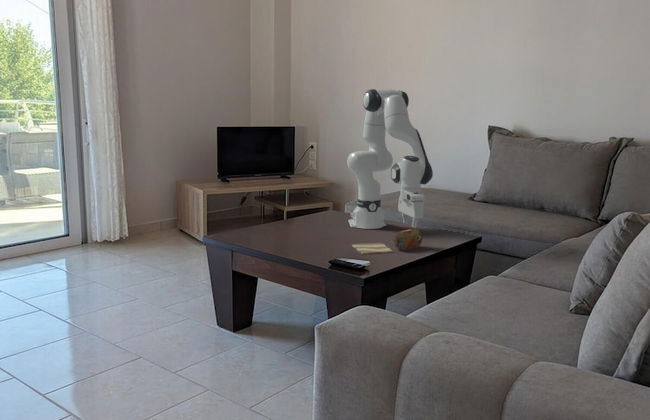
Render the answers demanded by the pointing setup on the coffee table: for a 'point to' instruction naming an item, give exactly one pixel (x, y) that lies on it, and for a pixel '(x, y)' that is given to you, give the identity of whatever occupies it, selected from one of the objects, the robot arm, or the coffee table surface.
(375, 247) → the mat
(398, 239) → the tin
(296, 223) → the coffee table surface
